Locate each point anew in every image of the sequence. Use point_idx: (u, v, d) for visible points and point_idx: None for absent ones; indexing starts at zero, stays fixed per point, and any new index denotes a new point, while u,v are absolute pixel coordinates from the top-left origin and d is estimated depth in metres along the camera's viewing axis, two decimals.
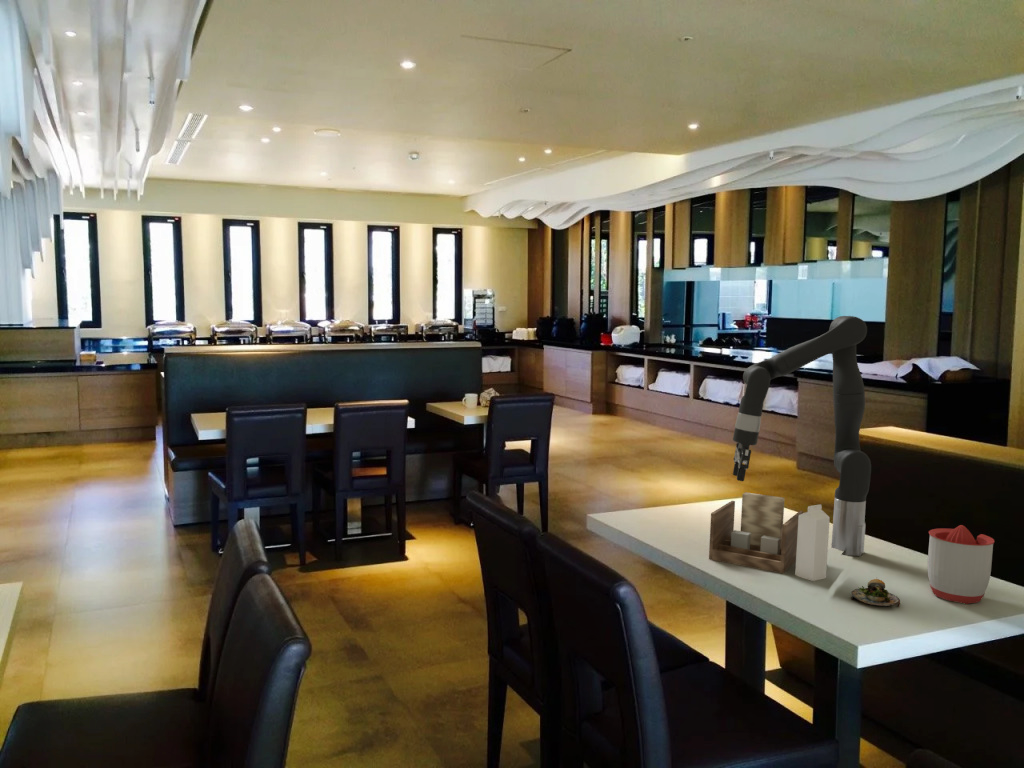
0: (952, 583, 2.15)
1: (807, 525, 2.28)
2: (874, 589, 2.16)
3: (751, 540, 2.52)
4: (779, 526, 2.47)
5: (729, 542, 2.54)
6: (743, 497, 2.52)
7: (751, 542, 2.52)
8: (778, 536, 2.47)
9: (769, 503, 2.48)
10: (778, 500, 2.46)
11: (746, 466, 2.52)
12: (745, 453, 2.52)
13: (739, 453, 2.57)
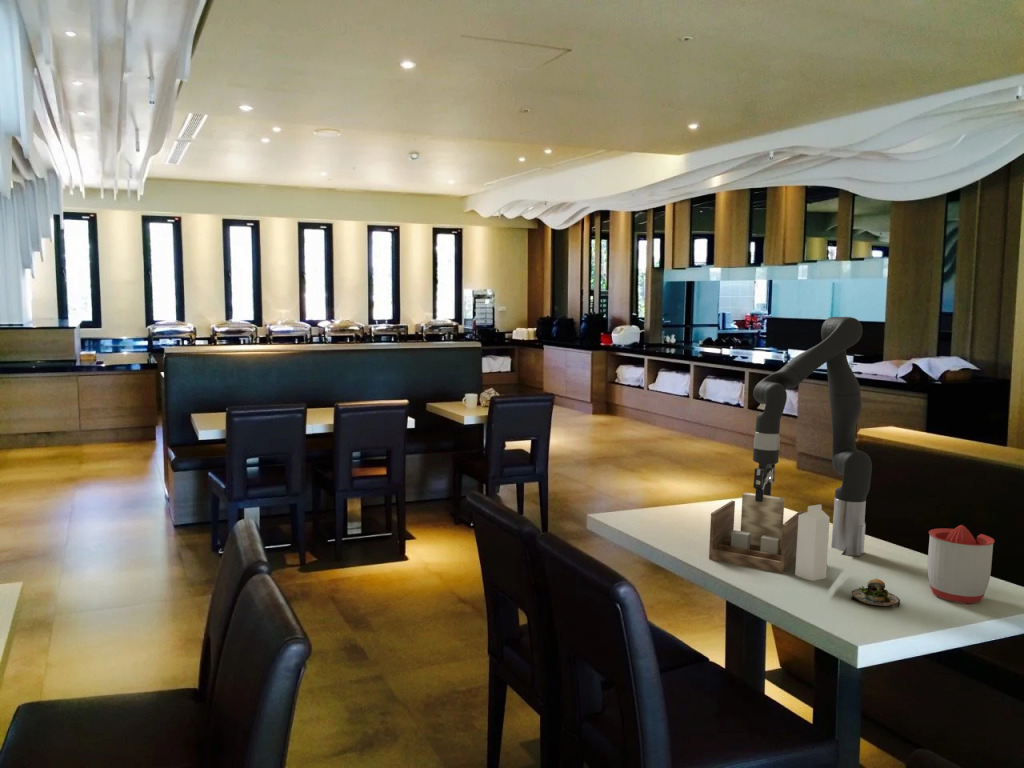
0: (952, 583, 2.15)
1: (807, 525, 2.28)
2: (874, 589, 2.16)
3: (751, 540, 2.52)
4: (779, 526, 2.47)
5: (729, 542, 2.54)
6: (743, 497, 2.52)
7: (751, 542, 2.52)
8: (778, 536, 2.47)
9: (769, 503, 2.48)
10: (778, 500, 2.46)
11: (759, 486, 2.44)
12: (756, 472, 2.44)
13: None
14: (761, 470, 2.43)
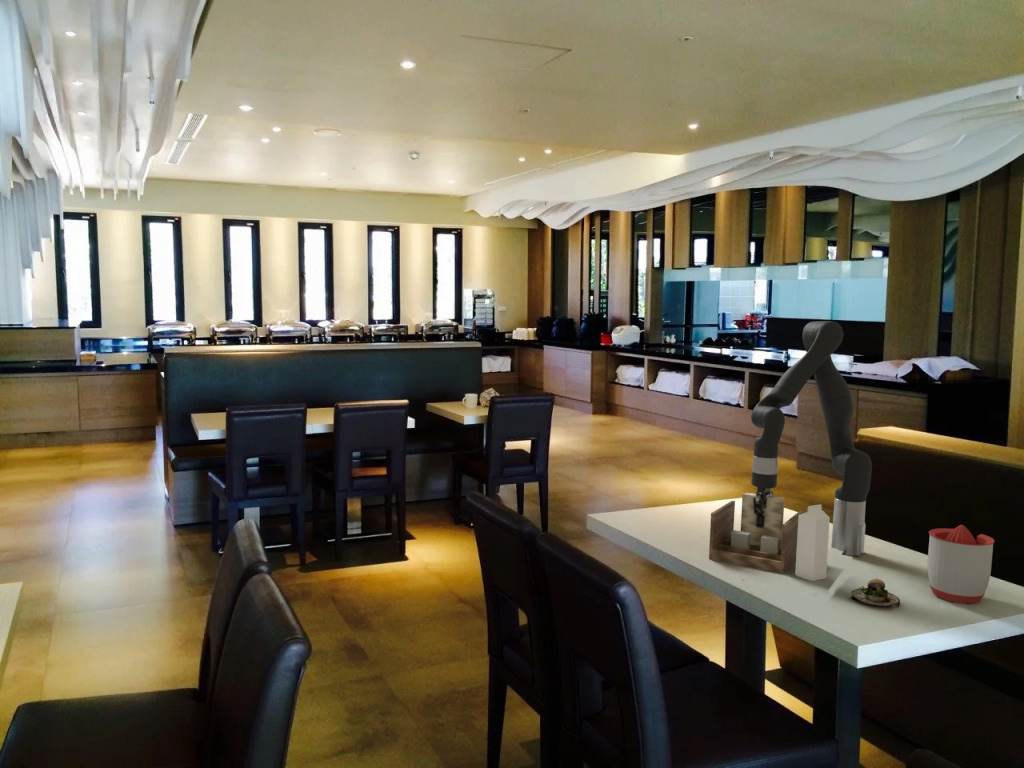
0: (952, 583, 2.15)
1: (807, 525, 2.28)
2: (874, 589, 2.16)
3: (751, 540, 2.52)
4: (779, 526, 2.47)
5: (729, 542, 2.54)
6: (743, 497, 2.52)
7: (751, 542, 2.52)
8: (778, 536, 2.47)
9: (769, 503, 2.48)
10: (778, 500, 2.46)
11: (760, 513, 2.47)
12: (755, 502, 2.45)
13: None
14: (759, 500, 2.44)
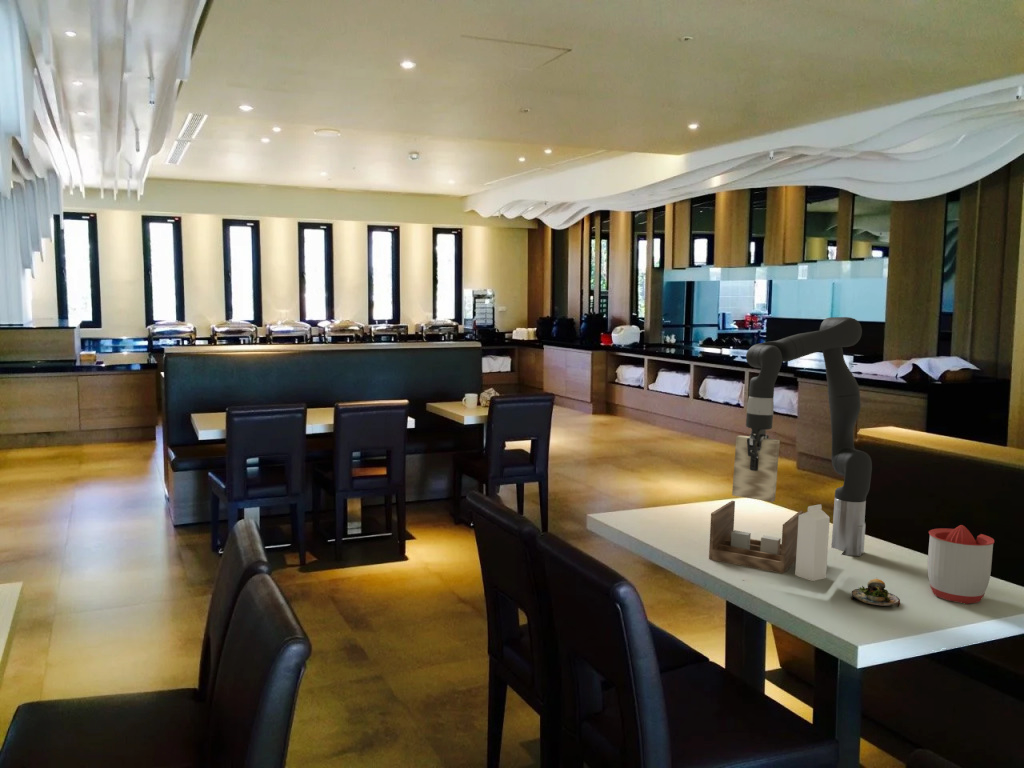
0: (952, 583, 2.15)
1: (807, 525, 2.28)
2: (874, 589, 2.16)
3: (744, 484, 2.43)
4: (773, 469, 2.39)
5: (729, 542, 2.54)
6: (737, 439, 2.44)
7: (744, 486, 2.44)
8: (772, 479, 2.39)
9: (763, 445, 2.40)
10: (773, 442, 2.38)
11: (754, 455, 2.38)
12: (749, 443, 2.37)
13: None
14: (753, 441, 2.36)
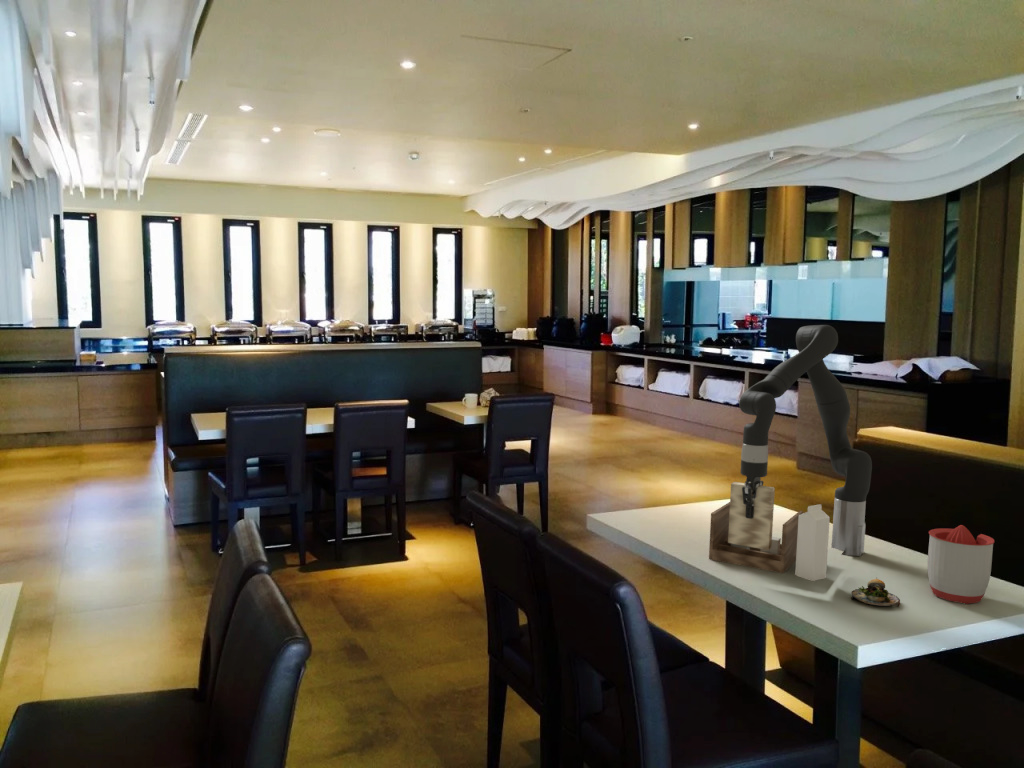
0: (952, 583, 2.15)
1: (807, 525, 2.28)
2: (874, 589, 2.16)
3: (740, 531, 2.41)
4: (769, 517, 2.36)
5: None
6: (732, 486, 2.42)
7: (740, 534, 2.41)
8: (768, 527, 2.37)
9: (758, 493, 2.38)
10: (768, 490, 2.36)
11: (749, 503, 2.36)
12: (744, 492, 2.35)
13: None
14: (749, 489, 2.34)
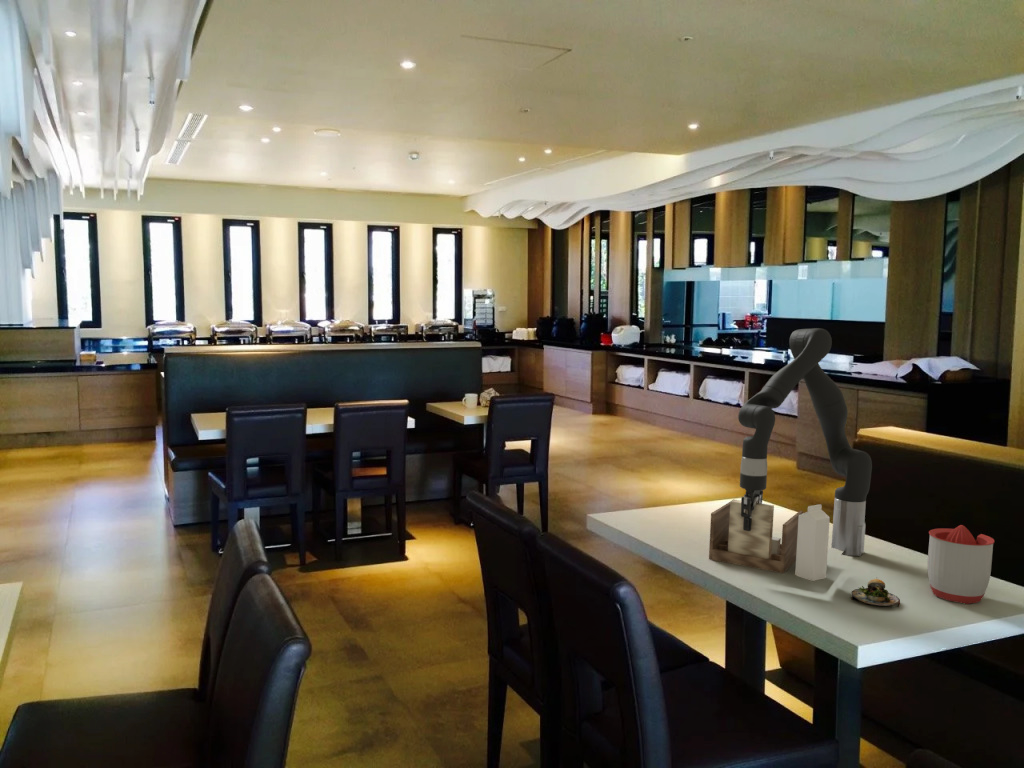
0: (952, 583, 2.15)
1: (807, 525, 2.28)
2: (874, 589, 2.16)
3: (739, 549, 2.42)
4: (768, 535, 2.37)
5: None
6: (731, 504, 2.42)
7: (739, 551, 2.42)
8: (767, 545, 2.37)
9: (757, 511, 2.38)
10: (767, 508, 2.36)
11: (747, 515, 2.35)
12: (743, 502, 2.35)
13: None
14: (748, 499, 2.34)
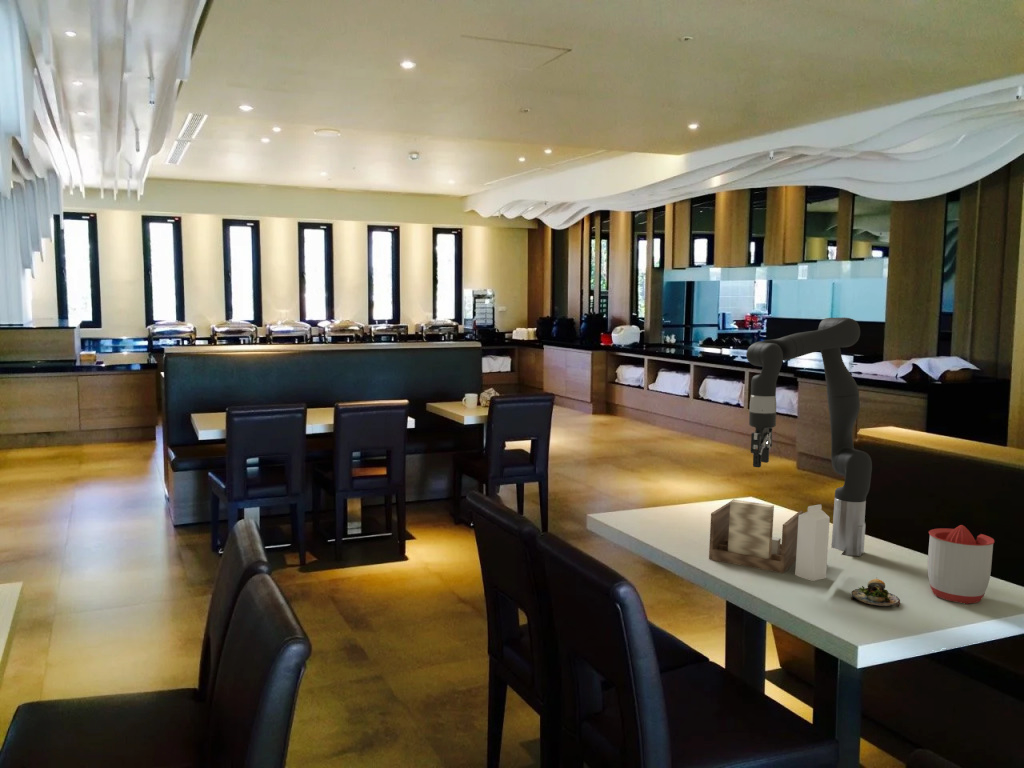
0: (952, 583, 2.15)
1: (807, 525, 2.28)
2: (874, 589, 2.16)
3: (739, 549, 2.42)
4: (768, 535, 2.37)
5: None
6: (731, 504, 2.42)
7: (739, 551, 2.42)
8: (767, 545, 2.37)
9: (757, 511, 2.38)
10: (767, 508, 2.36)
11: (757, 451, 2.35)
12: (753, 437, 2.35)
13: None
14: (758, 434, 2.35)
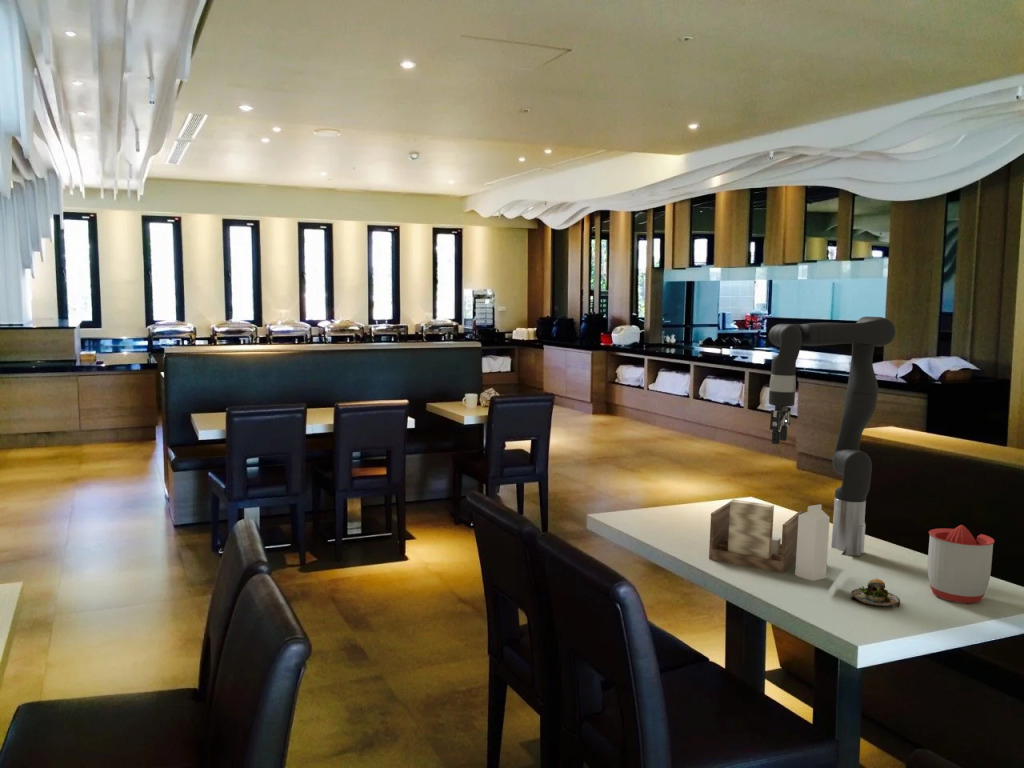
0: (952, 583, 2.15)
1: (807, 525, 2.28)
2: (874, 589, 2.16)
3: (739, 549, 2.42)
4: (768, 535, 2.37)
5: None
6: (731, 504, 2.42)
7: (739, 551, 2.42)
8: (767, 545, 2.37)
9: (757, 511, 2.38)
10: (767, 508, 2.36)
11: (776, 428, 2.43)
12: (773, 414, 2.44)
13: None
14: (778, 412, 2.43)
